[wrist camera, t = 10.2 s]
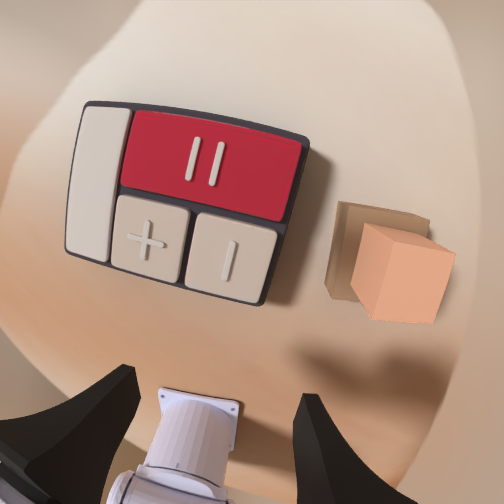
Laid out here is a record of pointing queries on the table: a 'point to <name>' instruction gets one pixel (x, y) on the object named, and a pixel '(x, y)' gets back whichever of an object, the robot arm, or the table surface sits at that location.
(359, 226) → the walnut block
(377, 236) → the terracotta block
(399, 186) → the table surface
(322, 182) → the table surface
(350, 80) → the table surface
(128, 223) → the calculator
